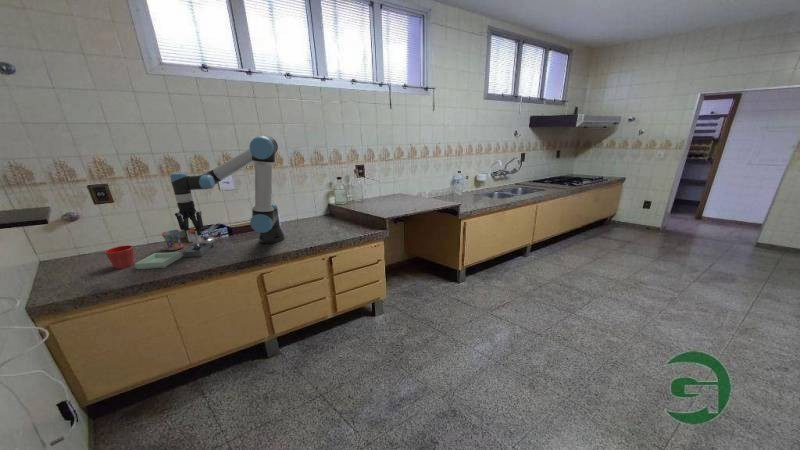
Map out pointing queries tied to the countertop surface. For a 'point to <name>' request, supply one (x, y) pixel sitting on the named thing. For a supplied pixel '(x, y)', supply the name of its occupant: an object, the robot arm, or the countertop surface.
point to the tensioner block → (204, 247)
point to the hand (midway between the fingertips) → (195, 240)
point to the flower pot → (121, 256)
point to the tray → (158, 260)
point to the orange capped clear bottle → (194, 238)
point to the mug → (172, 239)
